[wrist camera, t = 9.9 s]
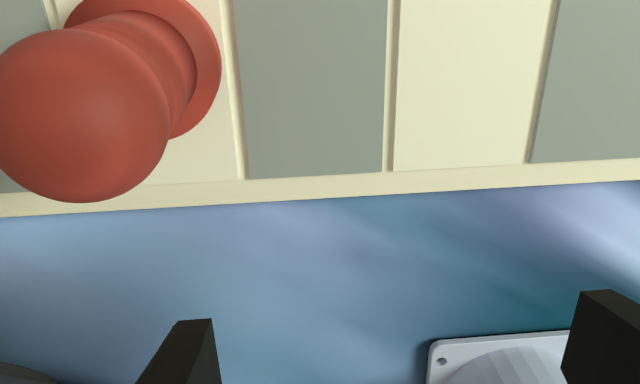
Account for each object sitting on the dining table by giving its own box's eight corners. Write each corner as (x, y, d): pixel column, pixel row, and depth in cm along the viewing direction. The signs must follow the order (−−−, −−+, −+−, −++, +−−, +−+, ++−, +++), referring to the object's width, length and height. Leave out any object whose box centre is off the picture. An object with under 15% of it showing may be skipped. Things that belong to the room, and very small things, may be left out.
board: (666, 166, 19) (689, 178, 18) (-71, 208, 17) (-93, 225, 16) (763, -135, 15) (801, -142, 14) (-214, -117, 13) (-258, -124, 12)
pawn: (229, 127, 16) (195, 251, 9) (91, 134, 15) (-46, 266, 9) (212, -19, 14) (154, 4, 7) (54, -14, 13) (-155, 14, 7)
